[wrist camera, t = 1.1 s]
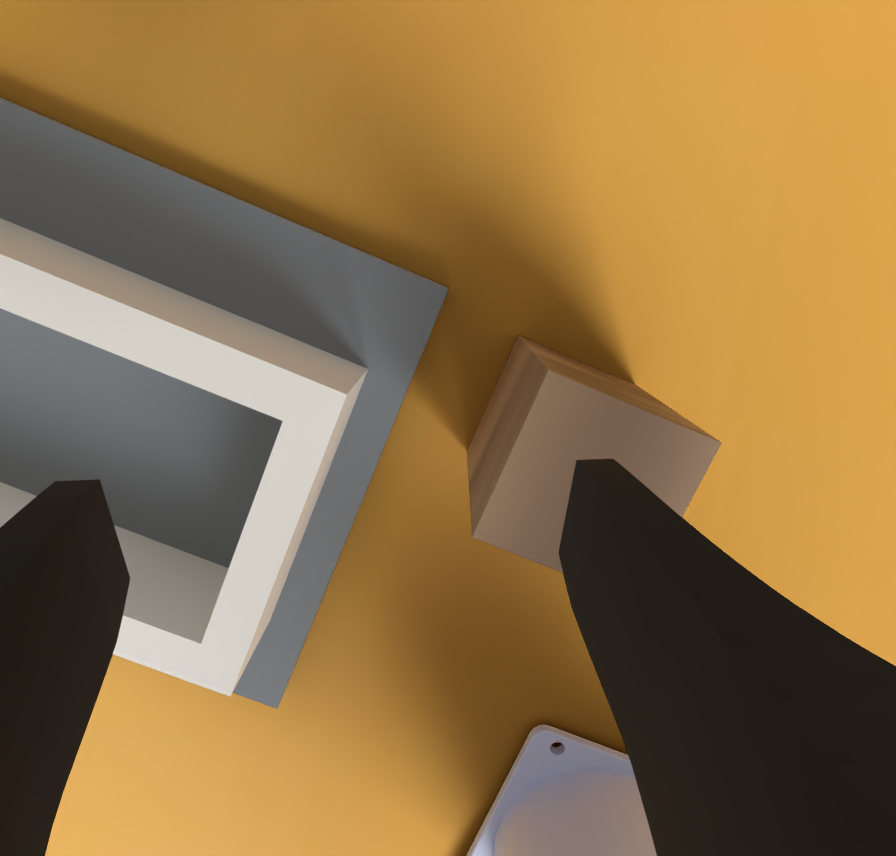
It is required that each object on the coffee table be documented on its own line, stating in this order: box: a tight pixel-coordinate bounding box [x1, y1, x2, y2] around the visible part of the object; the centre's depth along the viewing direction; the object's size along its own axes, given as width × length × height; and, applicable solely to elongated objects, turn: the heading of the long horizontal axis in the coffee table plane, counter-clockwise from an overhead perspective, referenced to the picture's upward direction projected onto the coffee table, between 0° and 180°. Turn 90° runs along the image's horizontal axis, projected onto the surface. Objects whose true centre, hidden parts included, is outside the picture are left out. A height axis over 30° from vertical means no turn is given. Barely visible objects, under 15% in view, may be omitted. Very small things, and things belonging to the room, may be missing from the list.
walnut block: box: [467, 335, 721, 573], centre depth 18 cm, size 4×4×7 cm
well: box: [0, 97, 449, 708], centre depth 19 cm, size 19×15×5 cm
